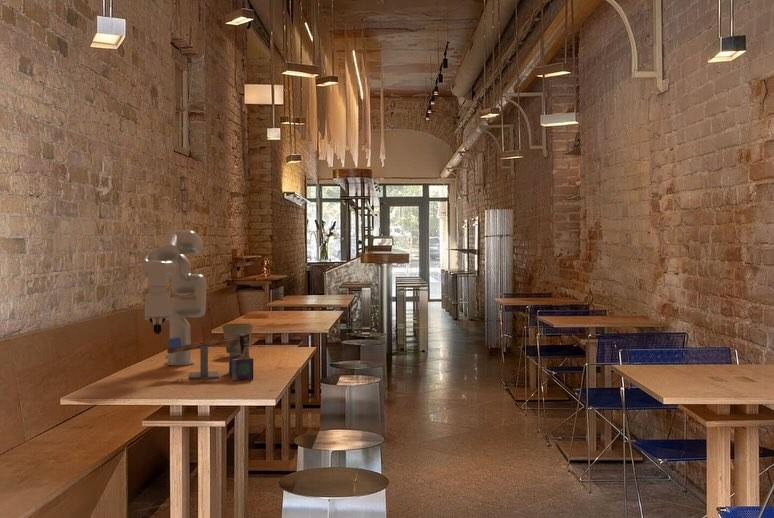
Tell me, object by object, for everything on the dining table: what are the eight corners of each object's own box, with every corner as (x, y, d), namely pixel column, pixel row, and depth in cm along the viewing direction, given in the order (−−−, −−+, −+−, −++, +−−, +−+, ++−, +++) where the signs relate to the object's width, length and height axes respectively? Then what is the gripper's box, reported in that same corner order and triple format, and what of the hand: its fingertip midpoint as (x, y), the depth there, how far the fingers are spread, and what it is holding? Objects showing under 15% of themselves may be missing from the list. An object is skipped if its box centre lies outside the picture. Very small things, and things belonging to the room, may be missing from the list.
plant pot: (258, 355, 426) (258, 323, 425) (239, 358, 413) (238, 326, 412) (236, 353, 433) (235, 322, 433) (216, 356, 420) (216, 325, 420)
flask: (233, 381, 346) (233, 355, 346) (230, 380, 349) (230, 354, 348) (254, 379, 351) (254, 354, 351) (251, 378, 353) (251, 353, 353)
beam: (169, 363, 351) (167, 350, 351) (169, 360, 359) (167, 348, 359) (241, 351, 358) (239, 338, 358) (240, 348, 366) (238, 336, 365)
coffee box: (242, 372, 371) (242, 335, 370) (228, 371, 372) (228, 335, 372) (249, 369, 380) (249, 333, 379) (236, 368, 381) (236, 333, 381)
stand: (189, 379, 350) (189, 347, 350) (189, 374, 364) (189, 343, 364) (237, 378, 355) (236, 345, 354) (235, 373, 368) (235, 342, 368)
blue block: (169, 350, 353) (168, 339, 353) (170, 349, 357) (168, 338, 357) (182, 348, 354) (180, 337, 354) (182, 347, 358) (180, 336, 358)
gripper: (138, 290, 348) (138, 335, 348) (175, 290, 351) (175, 334, 352) (139, 290, 356) (139, 333, 356) (175, 289, 359) (176, 332, 359)
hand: (157, 333), depth 354 cm, fingers closed
